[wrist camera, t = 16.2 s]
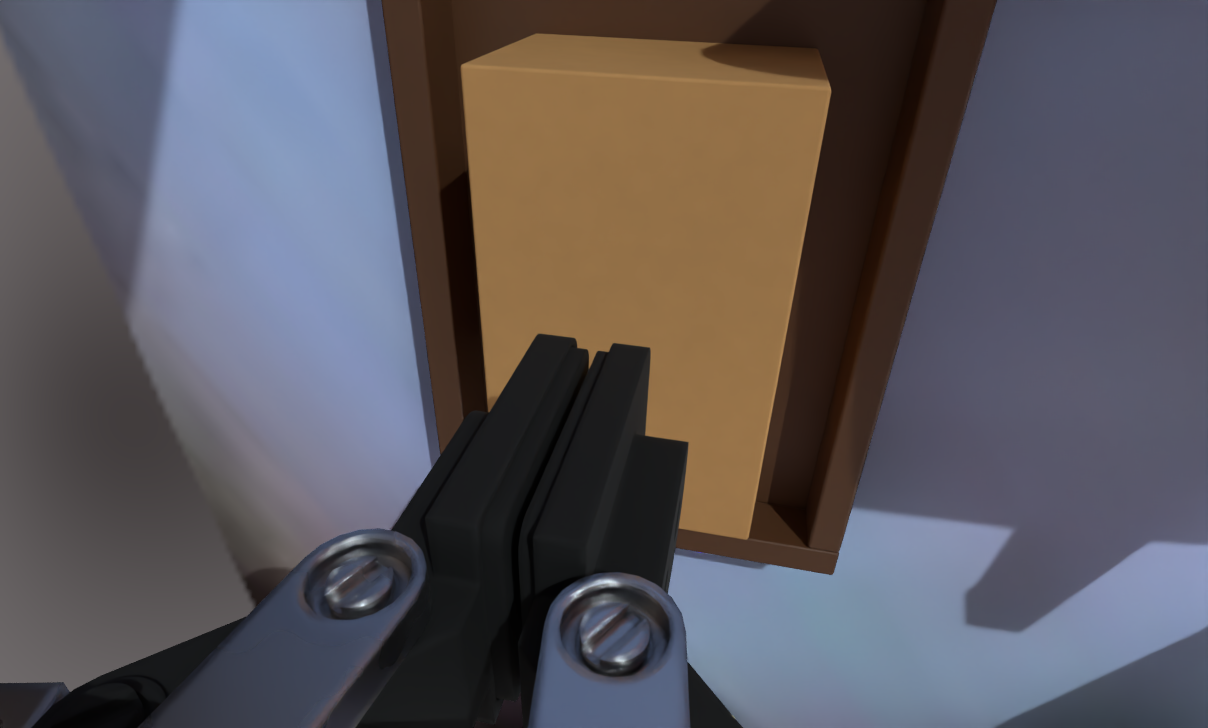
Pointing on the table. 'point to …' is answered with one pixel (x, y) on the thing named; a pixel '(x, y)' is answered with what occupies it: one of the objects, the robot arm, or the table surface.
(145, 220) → the table surface
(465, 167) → the brown wooden tray
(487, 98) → the tan rectangular block
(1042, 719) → the table surface
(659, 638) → the robot arm
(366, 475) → the table surface
